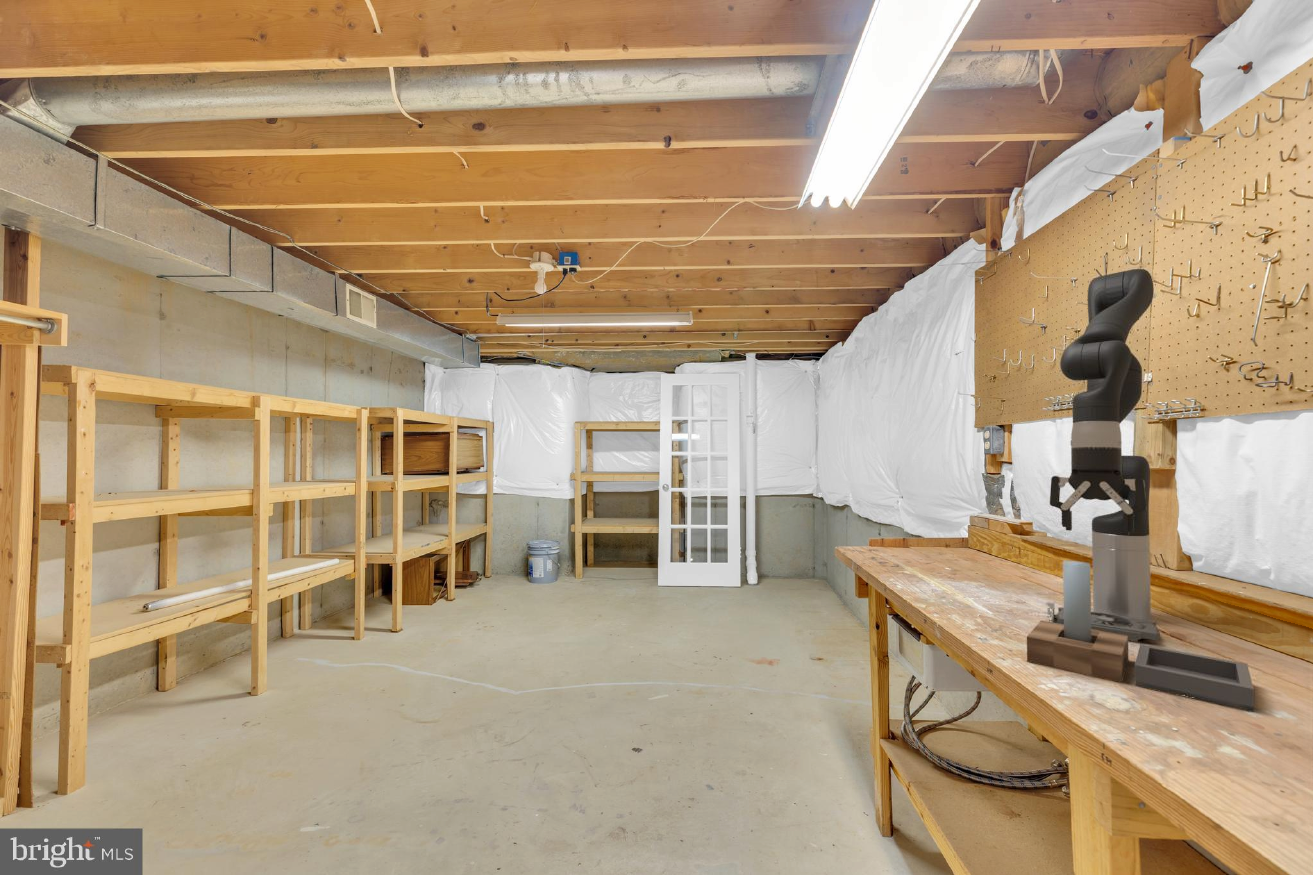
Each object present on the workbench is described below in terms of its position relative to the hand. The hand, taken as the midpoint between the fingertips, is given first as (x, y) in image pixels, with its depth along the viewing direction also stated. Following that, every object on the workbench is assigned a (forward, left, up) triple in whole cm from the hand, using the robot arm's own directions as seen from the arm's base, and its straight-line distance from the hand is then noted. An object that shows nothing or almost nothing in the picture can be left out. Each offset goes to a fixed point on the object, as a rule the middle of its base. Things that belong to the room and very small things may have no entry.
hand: (1096, 532), depth 105 cm
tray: (+19, +13, -19) cm, 30 cm away
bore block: (+19, -1, -19) cm, 27 cm away
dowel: (+19, -1, -19) cm, 27 cm away
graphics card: (-1, 0, -20) cm, 20 cm away
